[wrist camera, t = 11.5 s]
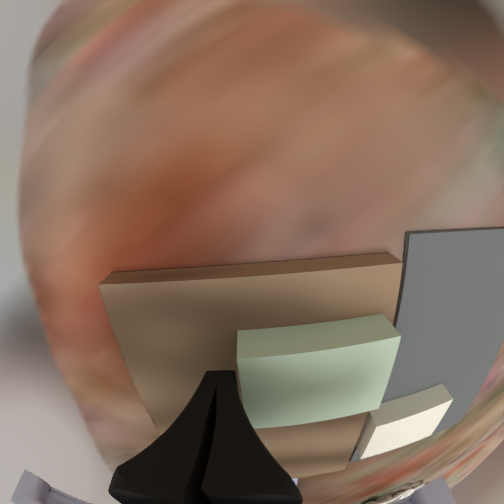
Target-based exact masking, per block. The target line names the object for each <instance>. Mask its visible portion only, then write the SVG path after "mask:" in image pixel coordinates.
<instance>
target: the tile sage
mask: <svg viewBox="0 0 504 504" xmlns="http://www.w3.org/2000/svg"><path fill="white" fill-rule="evenodd" d="M400 339H401V335H400V334H399V332H398V331H397V330H396V329H395V327H394V326H393V325H392V324H391V322H390V321H389V320H388V319H387V318H386V316H385V315H384V314H377V315H371V316H365V317H359V318H352V319H345V320H338V321H331V322H323V323H315V324H306V325H297V326H287V327H276V328H265V329H251V330H238V336H237V364H238V371H239V378H240V385H241V392H242V398H243V405H244V410H245V412H246V414H247V416H248V419H249V421H250V423H251V424H252V426H253V428H254V429H258V428H271V427H282V426H291V425H299V424H306V423H313V422H319V421H325V420H330V419H335V418H340V417H345V416H350V415H354V414H359V413H363V412H367V411H371V410H375V409H378V408H379V406H380V404H381V401H382V398H383V395H384V392H385V390H386V387H387V384H388V381H389V377H390V374H391V371H392V368H393V364H394V361H395V358H396V354H397V350H398V347H399V343H400Z"/></svg>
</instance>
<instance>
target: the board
mask: <svg viewBox="0 0 504 504" xmlns="http://www.w3.org/2000/svg"><path fill="white" fill-rule="evenodd" d="M402 265H403V262H401V261H400V260H398V259H397V258H396V257H394V256H393V255H391V254H390V253H377V254H365V255H353V256H341V257H329V258H317V259H304V260H291V261H278V262H265V263H251V264H237V265H223V266H208V267H193V268H178V269H162V270H146V271H129V272H112V273H111V274H109V275H108V276H107V277H106V278H105V279H104V280H103V281H102V282H101V283H100V284H99V288H100V291H101V295H102V298H103V302H104V305H105V308H106V311H107V314H108V317H109V320H110V323H111V326H112V329H113V332H114V335H115V338H116V340H117V343H118V346H119V348H120V351H121V354H122V356H123V359H124V361H125V364H126V366H127V368H128V371H129V373H130V375H131V378H132V380H133V382H134V384H135V387H136V389H137V391H138V393H139V395H140V397H141V399H142V401H143V404H144V406H145V408H146V410H147V412H148V413H149V415H150V417H151V419H152V421H153V423H154V425H155V427H156V429H157V430H158V432H159V434H160V436H161V435H162V434H163V433H164V432H165V431H166V430H167V429H168V428H169V427H170V425H171V424H172V423H173V422H174V421H175V420H176V418H177V417H178V416H179V415H180V413H181V412H182V411H183V409H184V408H185V407H186V405H187V404H188V402H189V401H190V399H191V397H192V396H193V394H194V393H195V391H196V389H197V388H198V386H199V384H200V382H201V380H202V378H203V376H204V374H205V372H206V371H217V370H234V371H235V372H236V379H237V385H238V391H239V397H240V399H241V402H242V405H243V398H242V392H241V385H240V378H239V371H238V364H237V336H238V330H251V329H265V328H276V327H287V326H297V325H306V324H315V323H323V322H331V321H338V320H345V319H352V318H359V317H365V316H371V315H377V314H384V315H385V316H386V318H387V319H388V320H389V321H390V322H391V324H392V325H393V321H394V316H395V311H396V305H397V299H398V294H399V287H400V280H401V273H402ZM243 407H244V405H243ZM367 414H368V411H367V412H363V413H359V414H354V415H350V416H345V417H340V418H335V419H330V420H325V421H319V422H313V423H306V424H299V425H291V426H282V427H271V428H258V429H254V430H255V432H256V433H257V435H258V436H259V438H260V440H261V441H262V443H263V444H264V445H265V447H266V448H267V449H268V451H269V452H270V454H271V455H272V456H273V457H274V458H275V460H276V461H277V462H278V463H279V464H280V465H281V466H282V468H283V469H284V470H285V471H286V472H287V473H288V474H289V475H290V476H291V478H292V479H293V478H301V477H308V476H314V475H320V474H325V473H330V472H335V471H340V470H344V469H345V467H346V465H347V463H348V461H349V459H350V456H351V454H352V452H353V449H354V447H355V445H356V442H357V440H358V438H359V435H360V433H361V430H362V427H363V425H364V422H365V420H366V417H367Z"/></svg>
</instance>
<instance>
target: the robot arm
mask: <svg viewBox="0 0 504 504" xmlns="http://www.w3.org/2000/svg"><path fill="white" fill-rule="evenodd" d="M297 481H298V478H293V479H292V478H291V476H290V475H289V474H288V473H287V472H286V471H285V470H284V469H283V468H282V466H281V465H280V464H279V463H278V462H277V461H276V460H275V458H274V457H273V456H272V455H271V454H270V452H269V451H268V449H267V448H266V447H265V445H264V444H263V443H262V441H261V440H260V438H259V436H258V435H257V433H256V432H255V430H254V428H253V426H252V424H251V423H250V421H249V419H248V416H247V414H246V412H245V410H244V407H243V405H242V402H241V399H240V397H239V391H238V385H237V379H236V372H235V371H234V370H217V371H206V372H205V374H204V376H203V378H202V380H201V382H200V384H199V386H198V388H197V389H196V391H195V393H194V394H193V396H192V397H191V399H190V401H189V402H188V404H187V405H186V407H185V408H184V409H183V411H182V412H181V413H180V415H179V416H178V417H177V418H176V420H175V421H174V422H173V423H172V424H171V425H170V427H169V428H168V429H167V430H166V431H165V432H164V433H163V434H162V435H161V436H160V437H159V438H158V439H157V440H155V441H154V442H153V443H152V444H151V445H150V446H148V447H147V448H146V449H144V450H143V451H142V452H140V453H139V454H138V455H136V456H135V457H133V458H131V459H130V460H128V461H126V462H125V463H123V464H121V465H120V466H118V467H117V468H116V471H115V472H114V474H113V477H112V480H111V483H110V486H109V490H108V491H109V493H110V495H111V496H112V497H113V498H115V499H116V500H117V501H119V502H120V503H121V504H302V502H303V499H302V496H301V493H300V491H299V489H298V488H297ZM11 502H12V503H14V504H91V503H88V502H85V501H82V500H80V499H78V498H75V497H73V496H70V495H68V494H66V493H63V492H61V491H59V490H57V489H55V488H53V487H51V486H50V485H49V484H48V483H47V482H45V481H44V480H43V479H41V478H39V477H38V476H36V475H34V474H32V473H30V472H29V471H27V470H24V472H23V474H22V476H21V478H20V480H19V483H18V485H17V487H16V489H15V491H14V494H13V496H12V498H11ZM390 504H456V502H455V500H454V498H453V496H452V493H451V492H450V489H449V487H448V485H447V483H446V481H445V478H444V477H440V478H438V479H436V480H434V481H432V482H430V483H428V484H426V485H424V486H422V487H420V488H418V489H417V490H415V491H414V492H413V493H412V494H411V495H410V496H408V497H405V498H403V499H400V500H398V501H395V502H392V503H390Z"/></svg>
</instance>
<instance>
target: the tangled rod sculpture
mask: <svg viewBox="0 0 504 504" xmlns="http://www.w3.org/2000/svg"><path fill="white" fill-rule="evenodd" d="M422 486H424V484H421V485H420V486H418V487H416V488H414V489H413V488H412V489H408V490H406V491H404V492H398V493H396V494H395V495H394V496H393V497H392V499H391V500H385V501H384V502H382V503H379V502H376V501H369V502H367V503H365V504H390V503H392V502H395V501H398V500H400V499H403V498H405V497H408V496H410V495H411V494H412V493H413V492H414V491H415V490H417V489H418V488H420V487H422Z"/></svg>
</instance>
